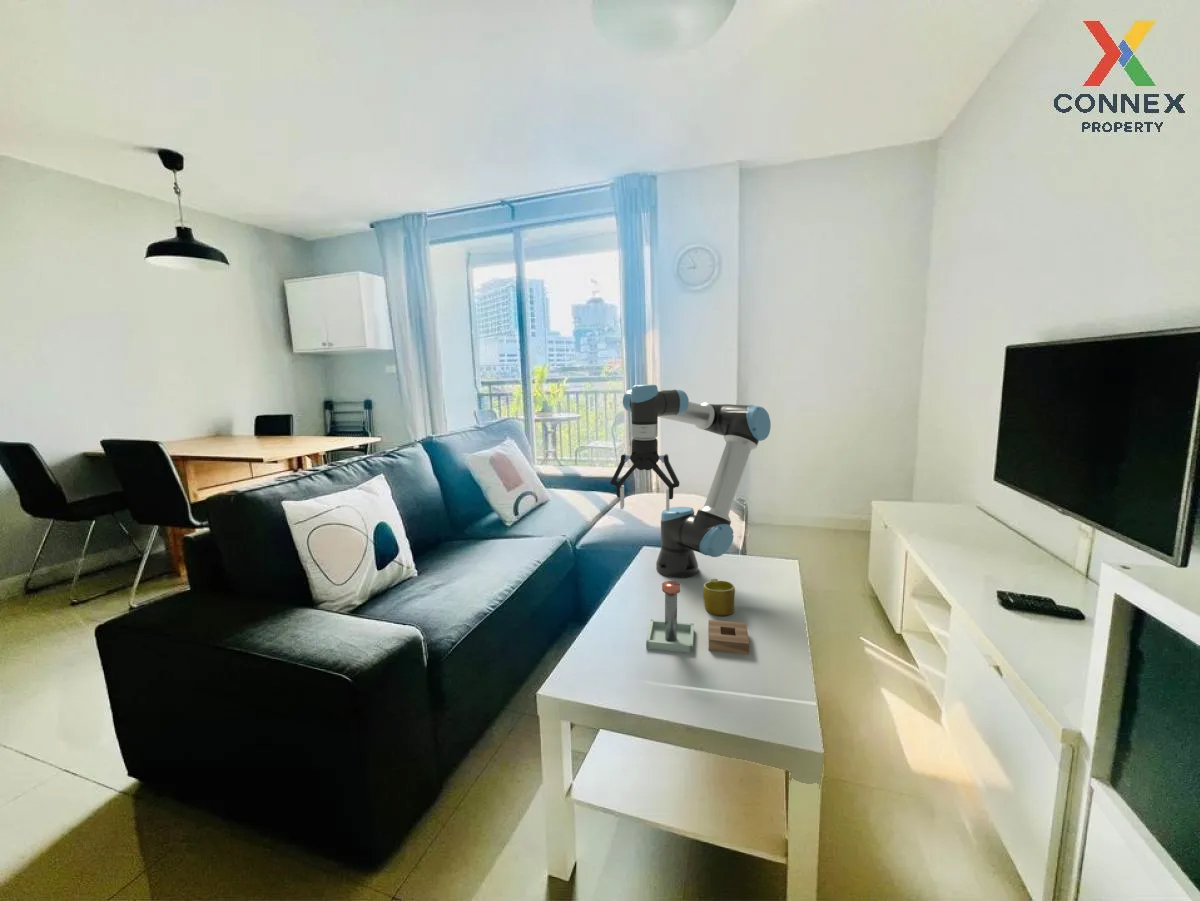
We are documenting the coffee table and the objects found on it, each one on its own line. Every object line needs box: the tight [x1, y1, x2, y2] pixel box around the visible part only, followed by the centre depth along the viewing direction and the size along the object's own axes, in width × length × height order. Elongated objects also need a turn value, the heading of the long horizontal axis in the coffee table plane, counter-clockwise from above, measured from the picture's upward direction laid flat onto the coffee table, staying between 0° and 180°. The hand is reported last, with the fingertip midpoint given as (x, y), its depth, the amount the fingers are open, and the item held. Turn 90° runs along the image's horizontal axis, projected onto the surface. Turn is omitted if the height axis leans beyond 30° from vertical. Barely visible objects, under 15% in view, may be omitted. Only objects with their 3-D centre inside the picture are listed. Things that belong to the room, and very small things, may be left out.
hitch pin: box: [661, 580, 681, 642], centre depth 125 cm, size 5×5×16 cm
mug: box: [702, 578, 736, 617], centre depth 142 cm, size 12×10×10 cm
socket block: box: [707, 619, 750, 656], centre depth 124 cm, size 10×10×4 cm
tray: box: [645, 619, 695, 654], centre depth 126 cm, size 11×12×2 cm
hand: (644, 508), depth 139 cm, fingers open, 13 cm apart
